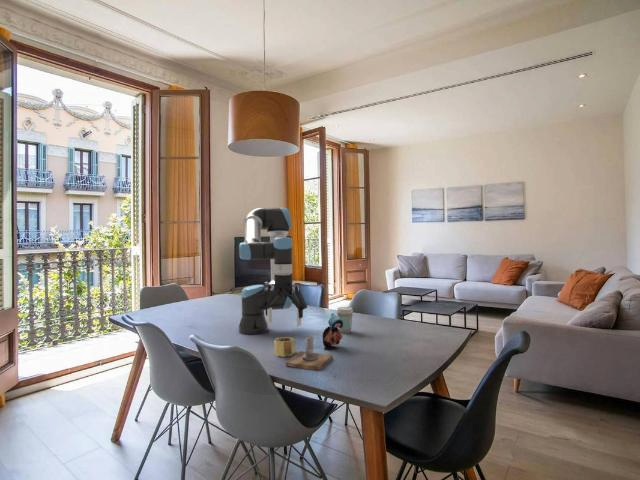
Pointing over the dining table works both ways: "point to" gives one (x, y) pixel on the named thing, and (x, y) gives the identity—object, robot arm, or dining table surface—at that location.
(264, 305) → the robot arm
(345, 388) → the dining table surface
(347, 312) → the coffee cup
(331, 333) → the figurine
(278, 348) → the hub
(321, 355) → the shaft block
